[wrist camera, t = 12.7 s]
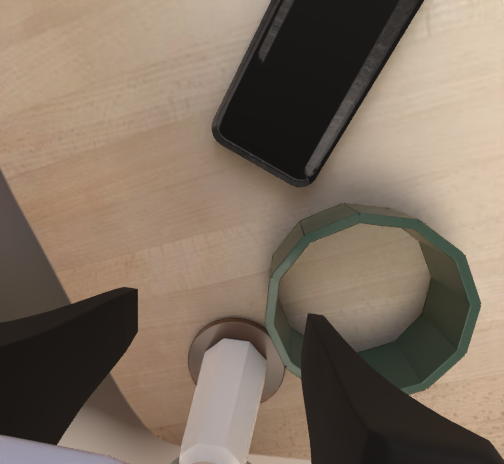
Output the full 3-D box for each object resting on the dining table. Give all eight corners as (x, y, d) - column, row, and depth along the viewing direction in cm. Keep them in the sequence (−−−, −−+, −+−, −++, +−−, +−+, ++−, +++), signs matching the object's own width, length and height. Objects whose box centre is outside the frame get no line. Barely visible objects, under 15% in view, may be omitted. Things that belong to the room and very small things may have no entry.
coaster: (278, 409, 25) (278, 415, 24) (187, 393, 25) (185, 399, 25) (290, 325, 23) (291, 329, 22) (192, 311, 24) (190, 314, 23)
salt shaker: (192, 375, 24) (121, 539, 14) (219, 324, 23) (165, 461, 12) (249, 405, 24) (223, 591, 14) (280, 356, 23) (278, 519, 12)
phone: (451, -45, 16) (306, 193, 19) (440, -31, 17) (305, 192, 21) (327, -120, 16) (203, 134, 19) (324, -101, 17) (208, 136, 20)
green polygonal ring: (416, 368, 23) (447, 416, 18) (261, 344, 24) (256, 385, 19) (456, 215, 20) (505, 229, 16) (279, 195, 21) (279, 203, 17)
